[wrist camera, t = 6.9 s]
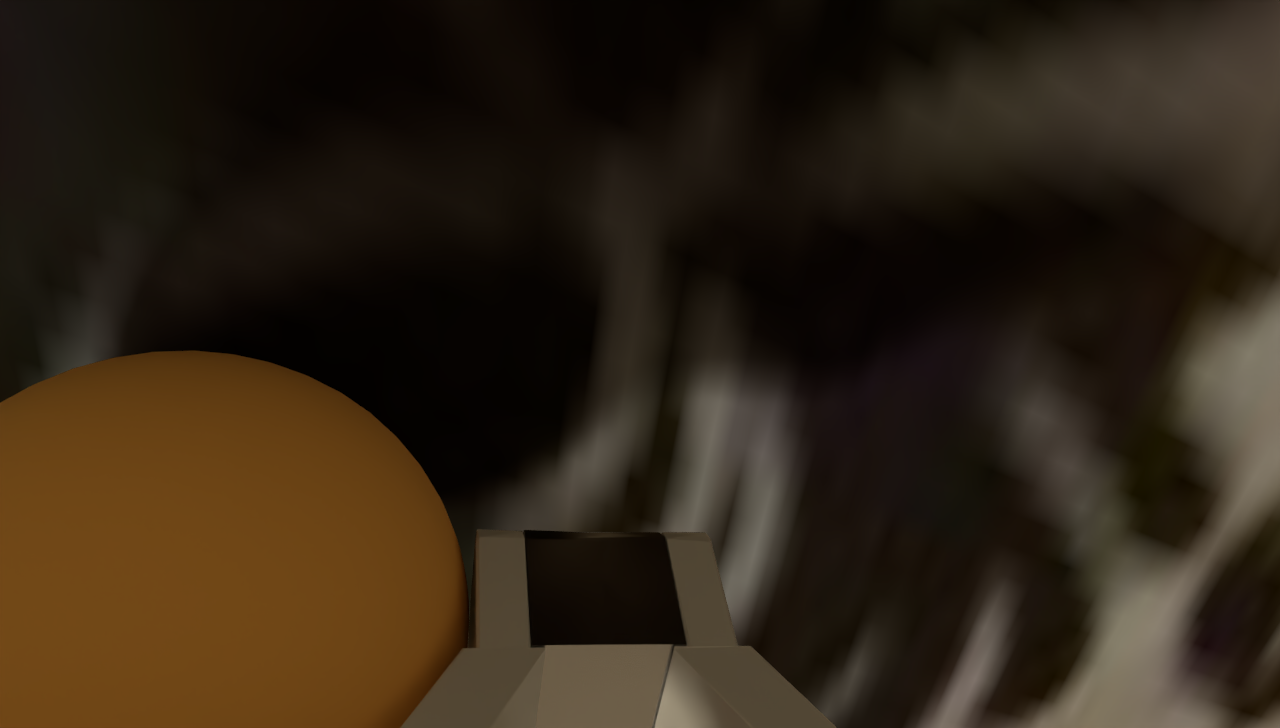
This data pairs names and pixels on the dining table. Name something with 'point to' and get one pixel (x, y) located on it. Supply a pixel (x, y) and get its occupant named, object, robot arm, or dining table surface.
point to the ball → (216, 553)
